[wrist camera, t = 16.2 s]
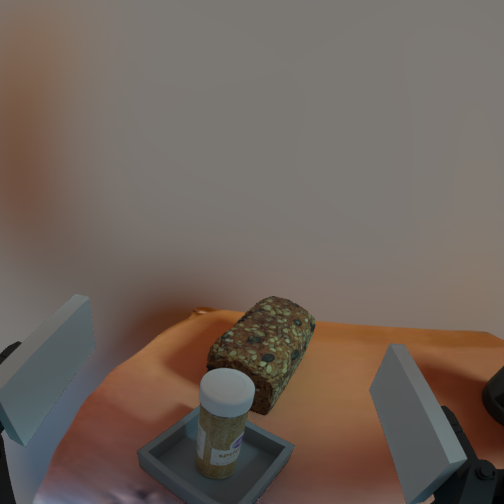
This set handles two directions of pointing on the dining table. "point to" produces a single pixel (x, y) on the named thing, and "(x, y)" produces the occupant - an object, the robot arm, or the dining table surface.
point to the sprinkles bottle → (222, 420)
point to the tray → (205, 489)
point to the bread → (265, 347)
